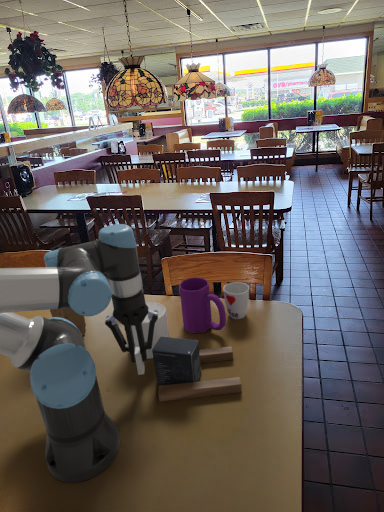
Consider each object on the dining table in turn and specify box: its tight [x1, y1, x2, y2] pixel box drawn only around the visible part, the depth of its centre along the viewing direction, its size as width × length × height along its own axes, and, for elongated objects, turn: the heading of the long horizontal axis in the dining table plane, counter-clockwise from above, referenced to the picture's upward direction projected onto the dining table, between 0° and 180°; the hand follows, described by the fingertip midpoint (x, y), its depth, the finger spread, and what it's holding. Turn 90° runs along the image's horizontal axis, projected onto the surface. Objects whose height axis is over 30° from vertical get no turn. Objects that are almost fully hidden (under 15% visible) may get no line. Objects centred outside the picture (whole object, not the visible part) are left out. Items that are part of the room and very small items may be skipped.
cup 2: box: [223, 281, 250, 320], centre depth 122 cm, size 8×8×10 cm
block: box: [49, 308, 87, 337], centre depth 118 cm, size 11×8×20 cm
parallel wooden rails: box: [158, 345, 242, 402], centre depth 99 cm, size 15×20×2 cm
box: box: [152, 336, 202, 386], centre depth 97 cm, size 11×7×10 cm, turn 73°
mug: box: [178, 276, 227, 334], centre depth 116 cm, size 9×16×15 cm, turn 51°
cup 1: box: [132, 301, 170, 360], centre depth 110 cm, size 12×12×12 cm
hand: (141, 370), depth 98 cm, fingers closed
